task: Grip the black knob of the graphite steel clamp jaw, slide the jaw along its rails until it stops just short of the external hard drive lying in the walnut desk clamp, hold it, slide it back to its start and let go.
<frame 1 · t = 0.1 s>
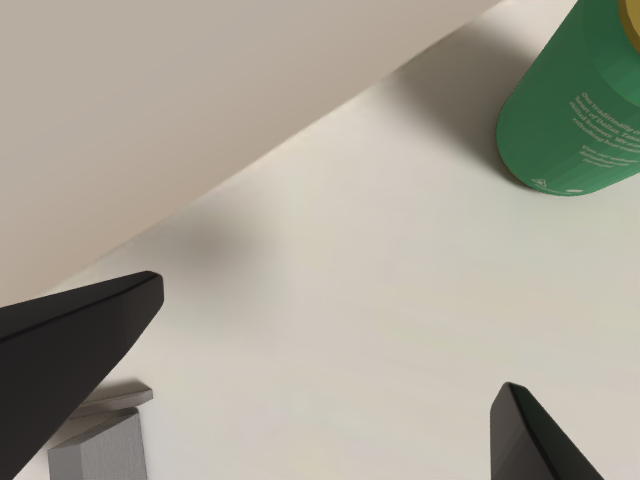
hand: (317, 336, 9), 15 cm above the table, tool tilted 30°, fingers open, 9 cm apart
beverage can: (554, 141, 23), on the table
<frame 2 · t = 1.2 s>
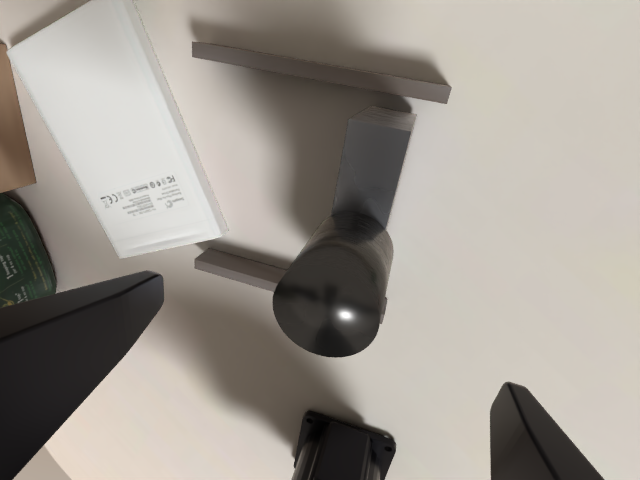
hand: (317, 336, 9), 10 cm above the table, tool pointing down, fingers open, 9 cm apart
external hard drive: (137, 142, 21), on the table
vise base: (176, 156, 20), on the table
coffee jar: (15, 244, 27), on the table
clamp jaw: (354, 244, 14), point 5 cm above the table, slide at 0.0 cm
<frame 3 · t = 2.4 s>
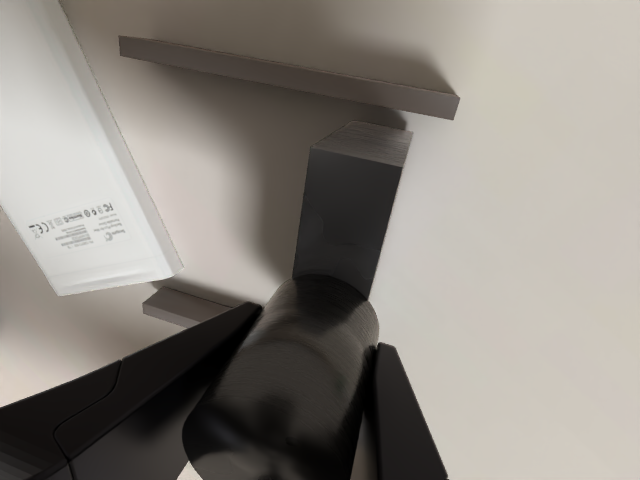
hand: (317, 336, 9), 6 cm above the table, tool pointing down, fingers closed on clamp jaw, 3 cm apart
external hard drive: (73, 159, 17), on the table
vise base: (118, 178, 16), on the table
clamp jaw: (327, 312, 10), point 5 cm above the table, slide at 0.0 cm, touching gripper
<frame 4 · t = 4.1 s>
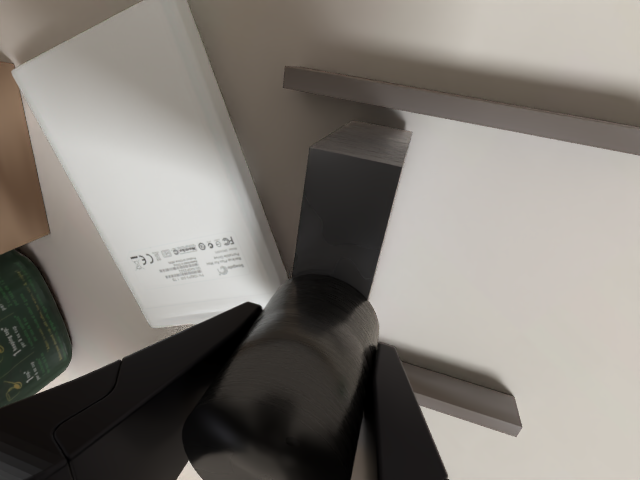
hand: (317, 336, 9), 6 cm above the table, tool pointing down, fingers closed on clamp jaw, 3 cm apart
external hard drive: (179, 187, 16), on the table
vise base: (238, 210, 15), on the table
coffee jar: (22, 300, 22), on the table
clamp jaw: (327, 312, 10), point 5 cm above the table, slide at 5.9 cm, touching gripper
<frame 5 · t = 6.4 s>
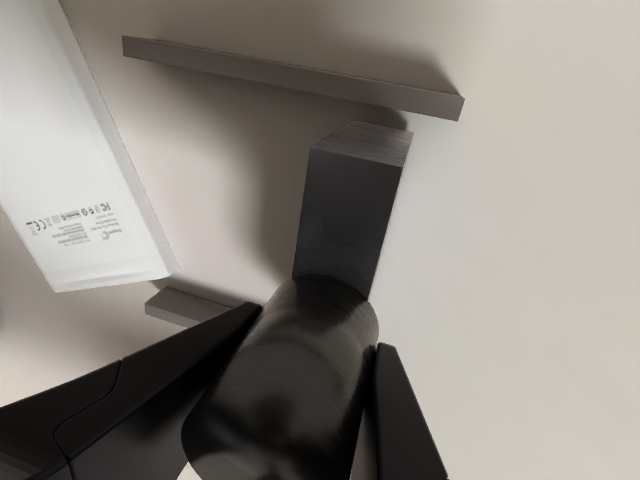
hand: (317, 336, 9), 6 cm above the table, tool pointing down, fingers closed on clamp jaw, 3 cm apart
external hard drive: (71, 158, 17), on the table
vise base: (121, 179, 16), on the table
clamp jaw: (326, 312, 10), point 5 cm above the table, slide at 0.1 cm, touching gripper
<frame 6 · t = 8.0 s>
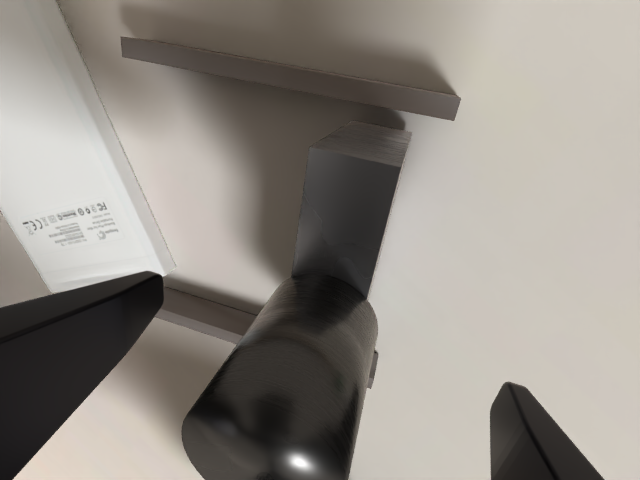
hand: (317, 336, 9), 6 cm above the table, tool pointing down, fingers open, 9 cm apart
external hard drive: (68, 157, 17), on the table
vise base: (120, 179, 16), on the table
clamp jaw: (326, 311, 10), point 5 cm above the table, slide at 0.1 cm
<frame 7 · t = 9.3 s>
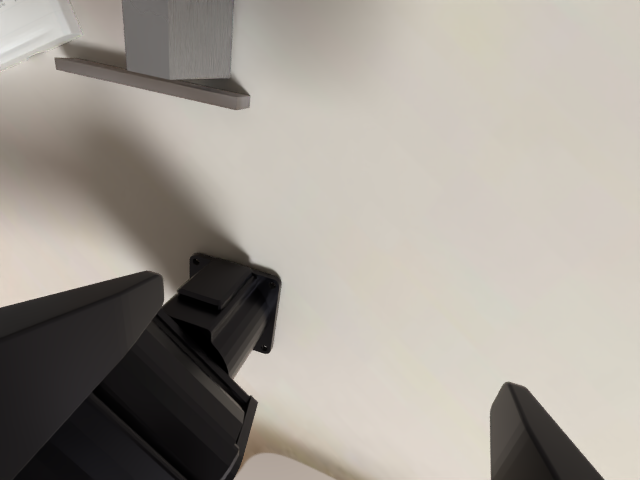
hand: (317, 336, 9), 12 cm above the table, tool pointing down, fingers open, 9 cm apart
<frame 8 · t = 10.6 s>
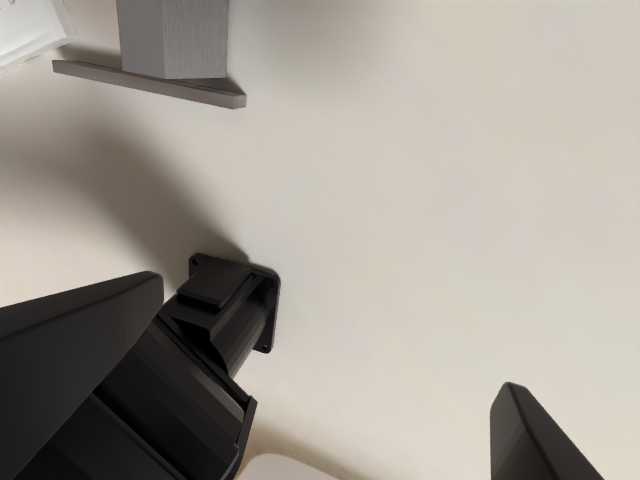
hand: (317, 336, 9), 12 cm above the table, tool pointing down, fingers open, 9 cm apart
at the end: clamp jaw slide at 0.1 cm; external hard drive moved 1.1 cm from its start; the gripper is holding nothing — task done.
